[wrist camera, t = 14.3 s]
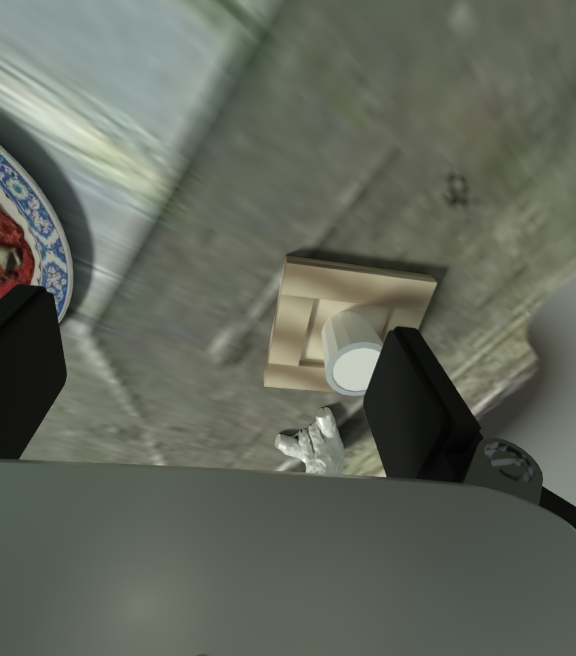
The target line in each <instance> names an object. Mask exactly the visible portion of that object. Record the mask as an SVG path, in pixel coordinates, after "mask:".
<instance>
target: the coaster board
mask: <svg viewBox="0 0 576 656" xmlns="http://www.w3.org/2000/svg"><path fill="white" fill-rule="evenodd" d="M436 285H437V282H436V281H435V280H434V278H433V277H432V276H431V275H428V274H421V273H414V272H406V271H399V270H391V269H384V268H377V267H369V266H362V265H355V264H347V263H340V262H332V261H325V260H318V259H310V258H303V257H295V256H288V255H285V260H284V266H283V271H282V277H281V283H280V288H279V294H278V299H277V305H276V311H275V316H274V322H273V327H272V333H271V339H270V344H269V350H268V355H267V361H266V366H265V372H264V386H266V387H279V388H291V389H303V390H315V391H327V392H337V391H335V390H334V389H332V388H331V386H330V385H329V383H328V382H327V381H326V373H325V363H324V354H323V344H322V334H321V331H322V329H323V326H324V324H325V323H326V321H327V320H328V319H329V318H330V317H332V316H333V315H335V314H337V313H339V312H345V311H353V312H358V313H360V314H361V315H363V316H364V317H366V319H367V320H368V322H369V323H370V325H371V326H372V328H373V329H374V331H375V332H376V334H377V335H378V337H379V338H380V339H381V341H382V342H383V344H384V341H385V338H386V336H387V333H388V332H389V331H390V330H394V328H395V327H397V326H403V327H412V328H416V329H417V330H418V329H419V326H420V324H421V321H422V319H423V317H424V314H425V312H426V309H427V307H428V304H429V302H430V300H431V297H432V295H433V292H434V290H435V288H436ZM364 395H365V394H364Z"/></svg>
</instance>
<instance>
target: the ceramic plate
mask: <svg viewBox="0 0 576 656" xmlns="http://www.w3.org/2000/svg"><path fill="white" fill-rule="evenodd" d="M73 277H74V272H73V261H72V256H71V251H70V247H69V244H68V241H67V238H66V235H65V232H64V229H63V227H62V225H61V223H60V221H59V219H58V217H57V215H56V213H55V211H54V209H53V207H52V205H51V204H50V202H49V201H48V199H47V198H46V196H45V194H44V193H43V192H42V190H41V189H40V188H39V186H38V185H37V184H36V182H35V181H34V180H33V178H32V177H31V176H30V175H29V174H28V173H27V171H26V170H25V169H24V168H23V167H22V166H21V165H20V164H19V163H18V162H17V161H16V160H15V159H14V158H13V157H12V156H11V155H10V154H9V153H8V152H7V151H6V150H5V149H4V148H3V147H2V146H1V145H0V299H1V298H2V297H3V296H4V295H5V294H6V293H8V292H9V291H10V290H11V289H12V288H13V287H14V286H15V285H17V284H27V285H36V286H44V287H45V288H46V290H47V292H50V293H52V294H53V295H54V298H55V304H56V310H57V316H58V322H59V323H60V321H61V320H62V318H63V317H64V315H65V313H66V310H67V308H68V306H69V303H70V299H71V296H72V290H73Z"/></svg>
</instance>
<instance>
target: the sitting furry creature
mask: <svg viewBox="0 0 576 656" xmlns="http://www.w3.org/2000/svg"><path fill="white" fill-rule="evenodd" d="M316 419H317V421H315V422H314V423H312V425H311V426H310V425H309V429H307V430H305V429H302V433H301V431H299V432H298V433H296V434H295V435H293V436H286V435H284V434H282V435H281V434H278V436H277V437H276V441H275V446H276V447H277V448H278V449H280V450H281V451H282V452H284V453H285V454H286V455H290V456H292V457H297V458H300V460H302V461H303V462H305V464H306V467H307V468H306V473H320V474H339V475H342V472H343V468H342V465H343V462H344V458H345V453H344V448H343V443H342V439H341V438H340V434H339V431H338V428H337V427H336V421H335V418H334V416H333V414H332V412H331V410H330V409H329V408H328V407H324V409H323V408H320V409H319V410H318V411H317V413H316ZM307 431H309V433H308V432H307ZM297 435H298V439H297V438H294V437H296V436H297Z"/></svg>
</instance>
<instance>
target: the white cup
mask: <svg viewBox="0 0 576 656" xmlns="http://www.w3.org/2000/svg"><path fill="white" fill-rule="evenodd" d="M321 334H322V344H323V354H324V363H325V373H326V381H327V382H328V383H329V385H330V386H331V388H332V389H334V390H335V391H337V392H339V393H341V394H344V395H351V396H358V395H364V394H365V393H366V390H367V387H368V385H369V382H370V379H371V377H372V374H373V371H374V368H375V366H376V363H377V360H378V357H379V355H380V352H381V349H382V347H383V342H382V341H381V339H380V338H379V337H378V335H377V334H376V332H375V331H374V329H373V328H372V326H371V325H370V323H369V322H368V320H367V319H366V317H364V316H363V315H361V314H360V313H358V312H353V311H345V312H339V313H337V314H335V315H333V316H332V317H330V318H329V319H328V320H327V321H326V323H325V324H324V326H323V329H322V331H321Z"/></svg>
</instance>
